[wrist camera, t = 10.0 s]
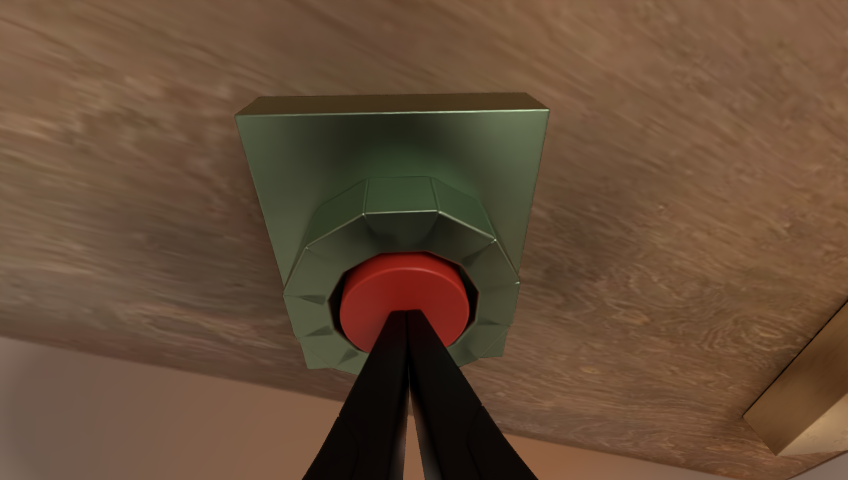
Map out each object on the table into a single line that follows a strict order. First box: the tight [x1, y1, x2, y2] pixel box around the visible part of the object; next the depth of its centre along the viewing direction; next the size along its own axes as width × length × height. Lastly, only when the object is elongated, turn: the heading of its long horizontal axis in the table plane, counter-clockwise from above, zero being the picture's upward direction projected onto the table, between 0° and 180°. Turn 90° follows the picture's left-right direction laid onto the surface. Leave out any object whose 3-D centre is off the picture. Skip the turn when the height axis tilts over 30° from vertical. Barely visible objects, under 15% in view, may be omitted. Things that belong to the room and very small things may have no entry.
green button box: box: [235, 93, 550, 375], centre depth 12 cm, size 10×8×4 cm
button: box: [340, 251, 469, 353], centre depth 11 cm, size 4×4×2 cm
